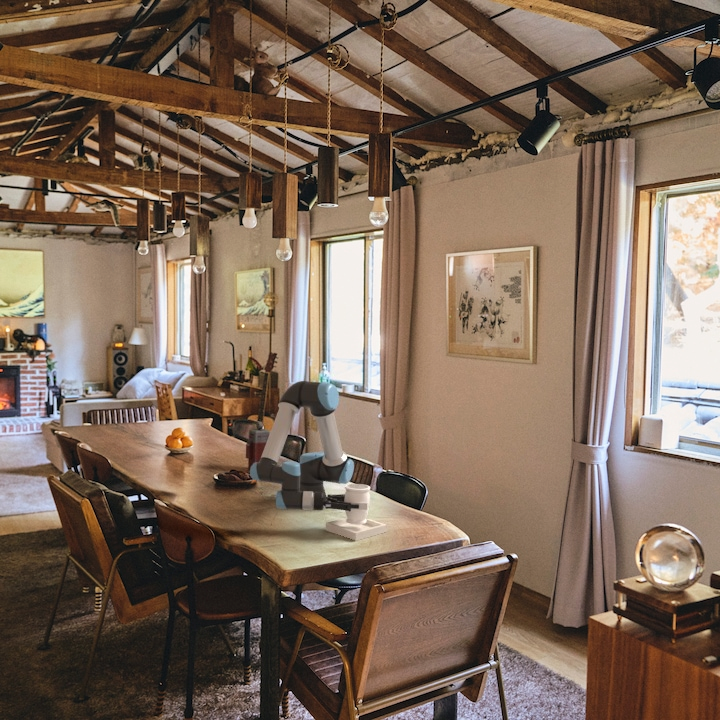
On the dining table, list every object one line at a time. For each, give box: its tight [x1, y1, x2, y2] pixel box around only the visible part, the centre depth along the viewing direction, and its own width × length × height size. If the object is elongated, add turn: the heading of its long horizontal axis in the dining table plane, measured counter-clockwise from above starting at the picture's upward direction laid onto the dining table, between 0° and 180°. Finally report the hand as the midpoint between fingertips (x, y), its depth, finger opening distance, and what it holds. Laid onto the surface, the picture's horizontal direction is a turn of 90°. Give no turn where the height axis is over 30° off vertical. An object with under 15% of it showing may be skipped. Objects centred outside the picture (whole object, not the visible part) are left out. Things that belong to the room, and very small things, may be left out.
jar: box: [344, 483, 371, 525], centre depth 291 cm, size 11×10×15 cm
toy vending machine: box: [245, 421, 271, 472], centre depth 396 cm, size 9×11×28 cm
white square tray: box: [325, 517, 388, 542], centre depth 292 cm, size 18×18×3 cm
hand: (367, 502), depth 291 cm, fingers closed on jar, 10 cm apart
